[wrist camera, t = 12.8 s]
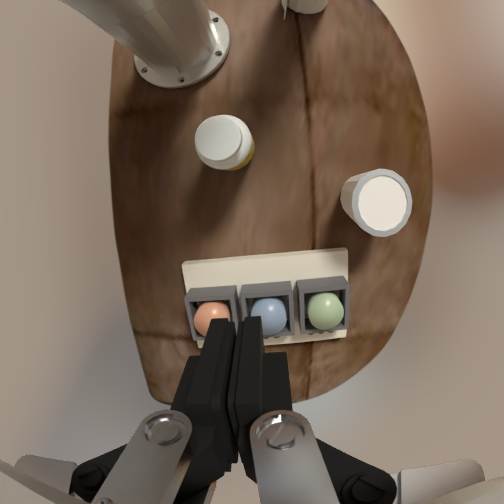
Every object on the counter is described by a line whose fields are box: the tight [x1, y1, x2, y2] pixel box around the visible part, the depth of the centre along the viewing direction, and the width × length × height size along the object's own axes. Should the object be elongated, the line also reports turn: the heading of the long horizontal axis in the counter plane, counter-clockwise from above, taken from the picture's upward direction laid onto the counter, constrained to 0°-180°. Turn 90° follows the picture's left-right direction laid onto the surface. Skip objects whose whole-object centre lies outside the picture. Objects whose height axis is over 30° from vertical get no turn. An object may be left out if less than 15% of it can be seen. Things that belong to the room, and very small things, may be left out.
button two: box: [251, 296, 287, 335], centre depth 33 cm, size 4×4×4 cm
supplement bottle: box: [195, 115, 255, 171], centre depth 27 cm, size 5×5×10 cm
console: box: [182, 247, 350, 348], centre depth 34 cm, size 12×20×4 cm, turn 96°
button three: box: [305, 290, 344, 330], centre depth 32 cm, size 4×4×4 cm
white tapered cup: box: [340, 169, 412, 237], centre depth 29 cm, size 7×7×7 cm
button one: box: [194, 300, 232, 337], centre depth 33 cm, size 4×4×4 cm
